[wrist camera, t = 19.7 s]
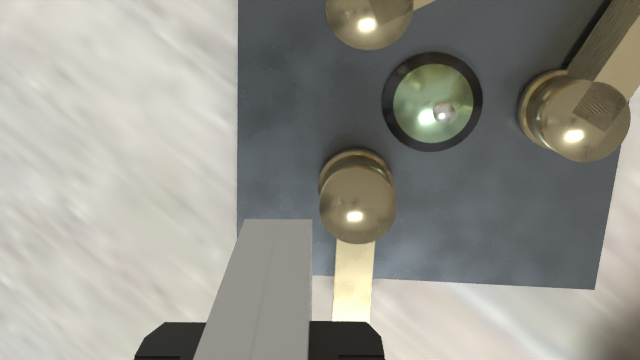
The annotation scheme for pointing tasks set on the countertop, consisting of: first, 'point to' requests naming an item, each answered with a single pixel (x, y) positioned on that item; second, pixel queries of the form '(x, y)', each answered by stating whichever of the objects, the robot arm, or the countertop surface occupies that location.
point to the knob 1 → (370, 20)
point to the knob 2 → (355, 224)
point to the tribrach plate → (425, 137)
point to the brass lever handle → (588, 91)
